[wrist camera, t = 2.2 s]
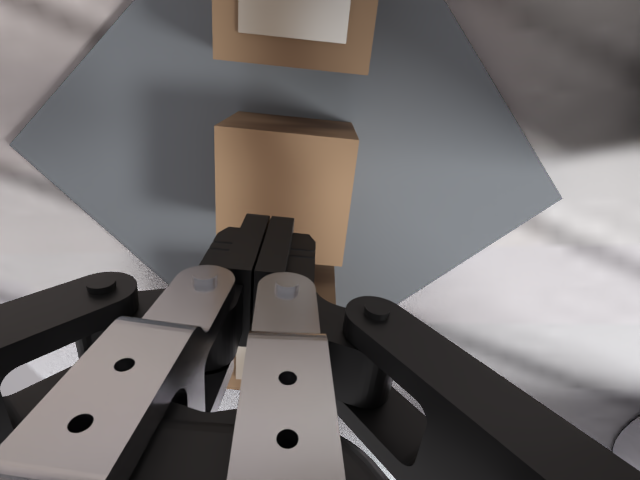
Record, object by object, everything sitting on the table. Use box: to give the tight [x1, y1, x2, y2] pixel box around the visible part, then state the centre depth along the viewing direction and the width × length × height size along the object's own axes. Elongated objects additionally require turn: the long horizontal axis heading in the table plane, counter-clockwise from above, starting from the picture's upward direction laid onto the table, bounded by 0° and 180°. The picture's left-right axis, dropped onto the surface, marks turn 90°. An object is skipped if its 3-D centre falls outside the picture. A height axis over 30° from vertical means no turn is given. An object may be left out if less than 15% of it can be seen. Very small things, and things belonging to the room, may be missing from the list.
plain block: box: [214, 111, 359, 267], centre depth 20 cm, size 6×6×5 cm
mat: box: [10, 0, 562, 308], centre depth 22 cm, size 22×22×1 cm
